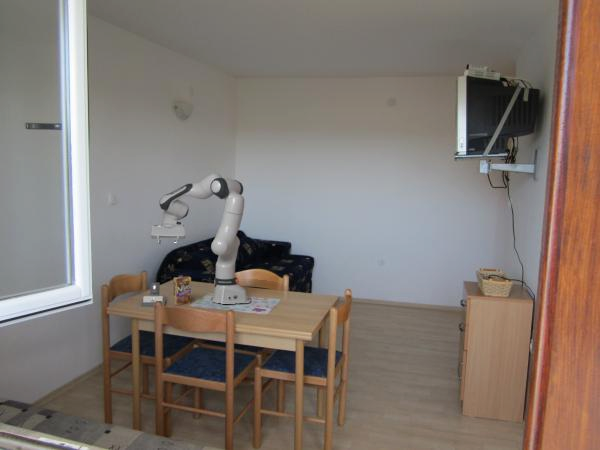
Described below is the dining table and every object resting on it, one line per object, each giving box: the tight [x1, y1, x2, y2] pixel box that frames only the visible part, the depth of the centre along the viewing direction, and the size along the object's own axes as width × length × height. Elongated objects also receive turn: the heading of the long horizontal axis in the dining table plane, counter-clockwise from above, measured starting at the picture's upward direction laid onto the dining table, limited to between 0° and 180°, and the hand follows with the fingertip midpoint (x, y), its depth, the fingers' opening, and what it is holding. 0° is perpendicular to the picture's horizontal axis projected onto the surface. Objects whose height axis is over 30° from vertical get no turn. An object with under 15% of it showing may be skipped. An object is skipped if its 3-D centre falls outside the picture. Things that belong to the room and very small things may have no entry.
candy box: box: [172, 275, 192, 306], centre depth 259 cm, size 9×4×15 cm, turn 123°
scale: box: [141, 295, 167, 308], centre depth 257 cm, size 12×12×6 cm
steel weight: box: [149, 282, 161, 296], centre depth 258 cm, size 5×5×8 cm
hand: (167, 243), depth 274 cm, fingers open, 8 cm apart
